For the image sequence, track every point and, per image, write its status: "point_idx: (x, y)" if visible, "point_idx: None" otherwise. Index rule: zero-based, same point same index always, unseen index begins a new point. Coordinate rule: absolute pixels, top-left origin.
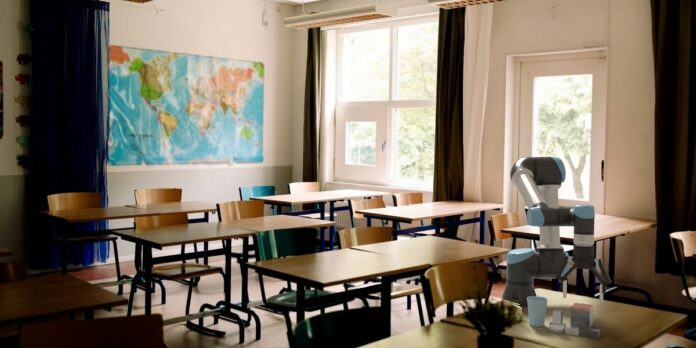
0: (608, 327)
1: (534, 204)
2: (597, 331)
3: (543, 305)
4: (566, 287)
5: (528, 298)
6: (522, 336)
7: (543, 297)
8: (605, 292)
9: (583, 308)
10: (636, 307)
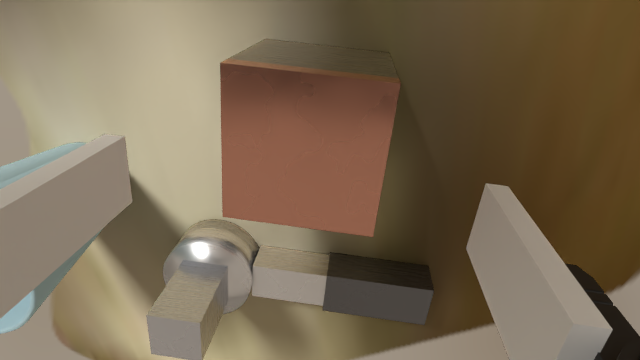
0: (492, 62)
1: None
2: (419, 321)
3: (52, 289)
4: (53, 193)
5: None
6: (117, 356)
7: None
8: (577, 275)
9: (322, 228)
10: None
